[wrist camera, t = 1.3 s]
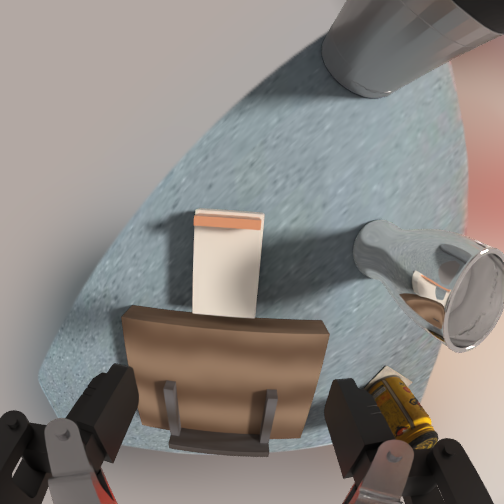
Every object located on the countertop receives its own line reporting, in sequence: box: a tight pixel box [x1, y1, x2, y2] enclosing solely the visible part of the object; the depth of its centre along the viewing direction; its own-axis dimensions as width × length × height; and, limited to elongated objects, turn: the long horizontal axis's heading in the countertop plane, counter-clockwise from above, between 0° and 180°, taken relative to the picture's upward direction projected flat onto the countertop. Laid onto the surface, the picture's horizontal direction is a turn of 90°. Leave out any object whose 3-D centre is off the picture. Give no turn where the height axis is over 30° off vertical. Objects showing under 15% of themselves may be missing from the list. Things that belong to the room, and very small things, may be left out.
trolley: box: [193, 208, 264, 318], centre depth 23 cm, size 9×6×6 cm, turn 175°
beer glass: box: [353, 220, 504, 353], centre depth 18 cm, size 7×7×15 cm
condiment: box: [364, 366, 438, 449], centre depth 24 cm, size 7×8×12 cm
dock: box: [121, 305, 330, 457], centre depth 26 cm, size 16×20×6 cm
